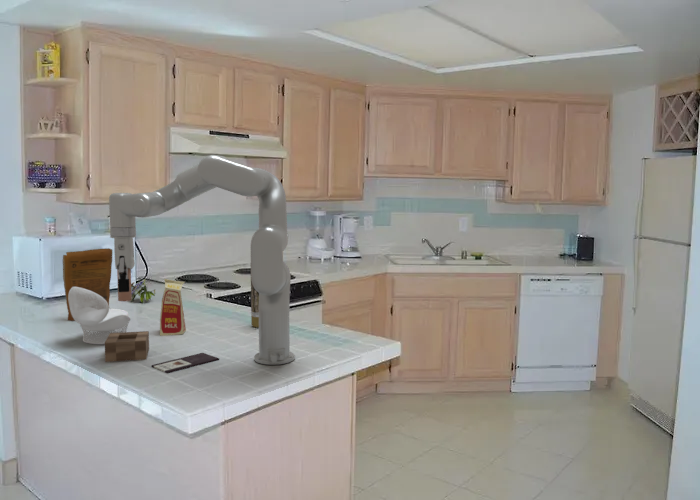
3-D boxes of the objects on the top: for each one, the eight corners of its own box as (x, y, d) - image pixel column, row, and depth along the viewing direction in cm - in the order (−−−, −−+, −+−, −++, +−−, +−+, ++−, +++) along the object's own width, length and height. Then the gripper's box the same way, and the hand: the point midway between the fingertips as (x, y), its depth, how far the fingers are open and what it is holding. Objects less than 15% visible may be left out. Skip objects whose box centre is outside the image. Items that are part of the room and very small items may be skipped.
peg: (130, 301, 191) (129, 263, 190) (117, 301, 190) (116, 263, 189) (132, 298, 195) (131, 261, 193) (119, 299, 194) (117, 261, 192)
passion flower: (133, 313, 278) (125, 290, 282) (157, 306, 283) (148, 283, 287) (134, 303, 269) (126, 279, 273) (159, 296, 274) (150, 273, 278)
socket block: (146, 359, 190) (145, 340, 190) (105, 361, 187) (104, 342, 187) (149, 348, 202) (148, 331, 201) (110, 351, 199) (109, 333, 198)
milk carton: (160, 335, 218) (158, 280, 216) (160, 329, 227) (159, 276, 225) (186, 334, 221) (184, 279, 218) (186, 328, 229) (184, 275, 227)
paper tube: (265, 328, 229) (265, 262, 226) (248, 327, 231) (247, 262, 228) (271, 324, 236) (271, 260, 233) (255, 323, 237) (254, 259, 234)
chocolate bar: (219, 358, 190) (167, 371, 177) (219, 361, 190) (167, 374, 177) (202, 352, 196) (151, 365, 183) (202, 355, 196) (151, 368, 183)
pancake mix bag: (117, 317, 246) (114, 248, 243) (66, 323, 236) (62, 251, 232) (113, 314, 252) (110, 246, 249) (63, 320, 241) (59, 249, 238)
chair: (143, 338, 215) (141, 282, 213) (92, 351, 199) (89, 291, 196) (109, 330, 226) (107, 276, 224) (58, 341, 210) (55, 284, 207)
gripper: (133, 235, 183) (134, 295, 185) (138, 230, 199) (139, 285, 201) (106, 235, 181) (108, 295, 183) (113, 230, 197) (115, 286, 199)
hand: (124, 289), depth 192 cm, fingers closed on peg, 4 cm apart
